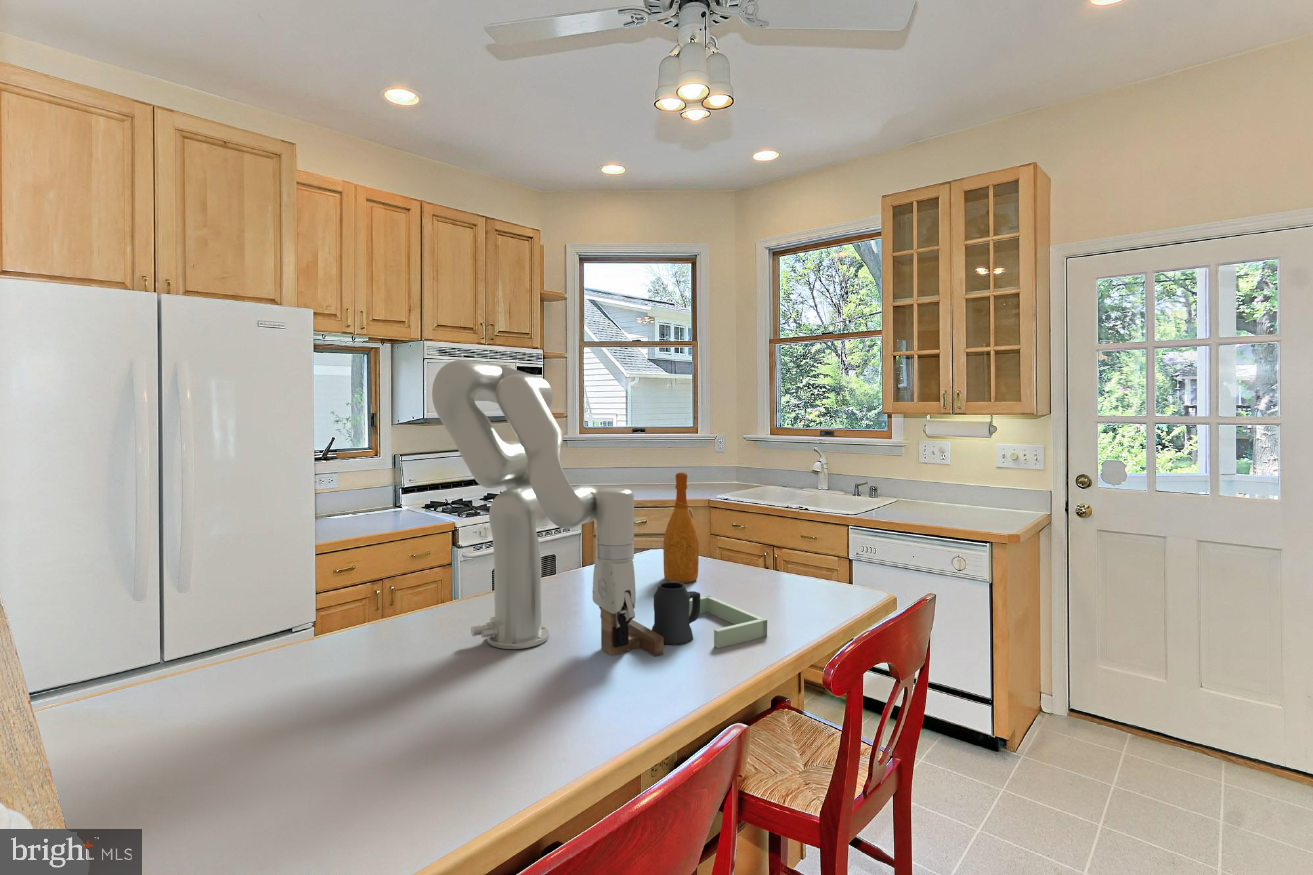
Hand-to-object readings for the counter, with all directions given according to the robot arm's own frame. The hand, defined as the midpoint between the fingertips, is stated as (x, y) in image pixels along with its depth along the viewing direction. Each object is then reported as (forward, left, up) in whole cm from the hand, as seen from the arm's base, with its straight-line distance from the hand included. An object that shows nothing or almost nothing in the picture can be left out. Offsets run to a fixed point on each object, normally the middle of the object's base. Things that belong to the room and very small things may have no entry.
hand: (614, 641), depth 130 cm
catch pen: (+24, 0, -2) cm, 24 cm away
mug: (+15, 0, -2) cm, 15 cm away
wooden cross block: (+3, 0, -2) cm, 3 cm away
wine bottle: (+41, +36, -2) cm, 55 cm away
